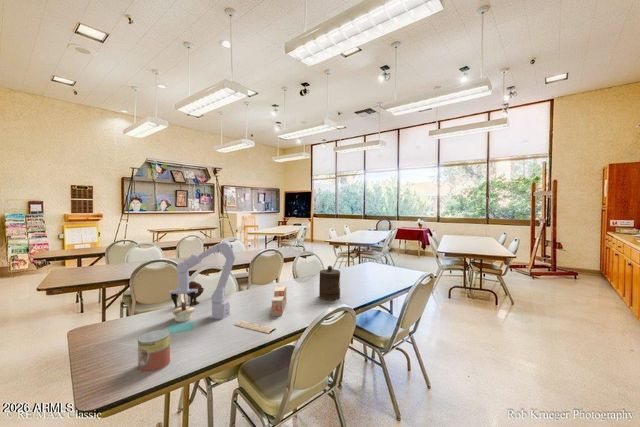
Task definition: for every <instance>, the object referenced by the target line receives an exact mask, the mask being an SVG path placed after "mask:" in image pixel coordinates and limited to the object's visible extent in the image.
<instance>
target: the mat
mask: <svg viewBox="0 0 640 427" xmlns="http://www.w3.org/2000/svg"><path fill="white" fill-rule="evenodd" d="M194 325H195V321H188V322H187V321H185V322H180V323H171V324H169V326H168V329H166V330H167V331H169V332H170V334H175V333H182V332H183V333H186V332H192V330H193V328H194Z"/></svg>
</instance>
